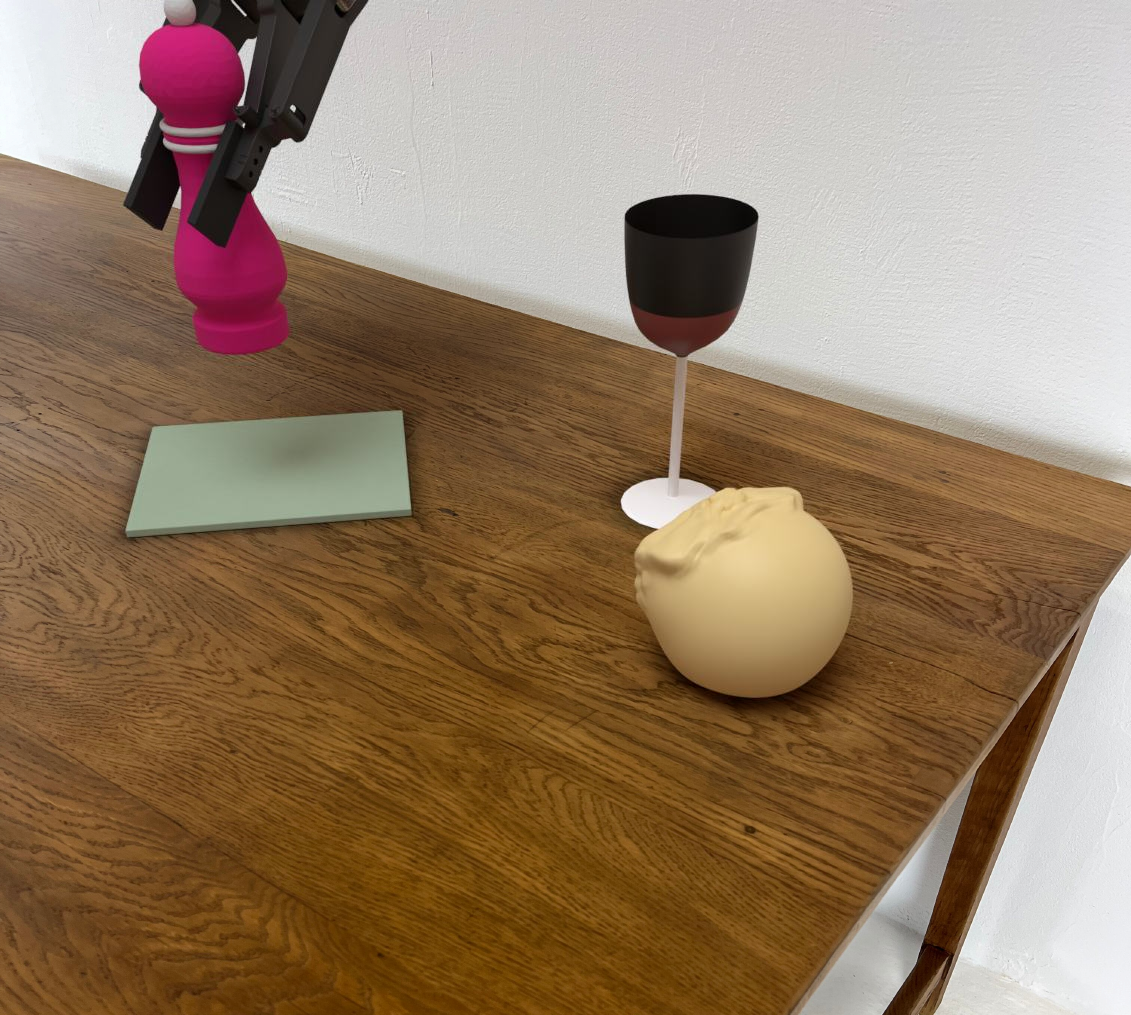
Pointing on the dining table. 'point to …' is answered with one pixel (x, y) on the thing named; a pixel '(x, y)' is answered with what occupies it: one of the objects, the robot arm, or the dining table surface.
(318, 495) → the placemat
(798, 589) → the sculpture
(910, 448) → the dining table surface
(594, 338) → the dining table surface
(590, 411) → the dining table surface
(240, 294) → the pepper mill
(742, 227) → the wineglass
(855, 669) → the dining table surface
